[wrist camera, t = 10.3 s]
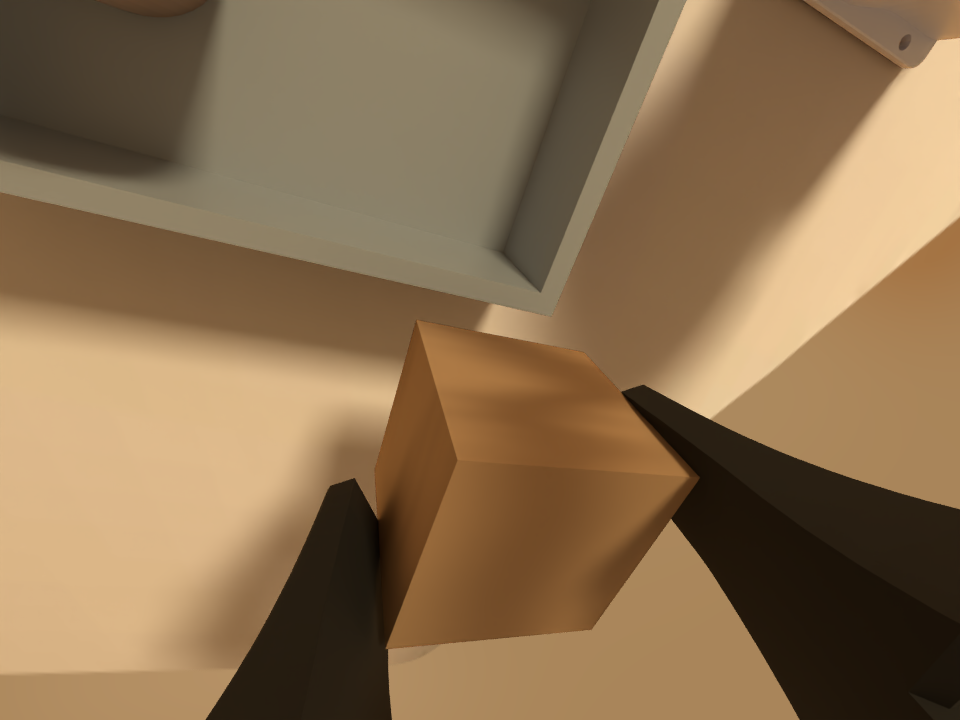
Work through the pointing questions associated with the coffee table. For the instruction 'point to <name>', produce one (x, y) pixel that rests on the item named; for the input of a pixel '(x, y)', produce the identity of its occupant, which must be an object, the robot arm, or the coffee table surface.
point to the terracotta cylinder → (155, 6)
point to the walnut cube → (512, 490)
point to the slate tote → (339, 127)
